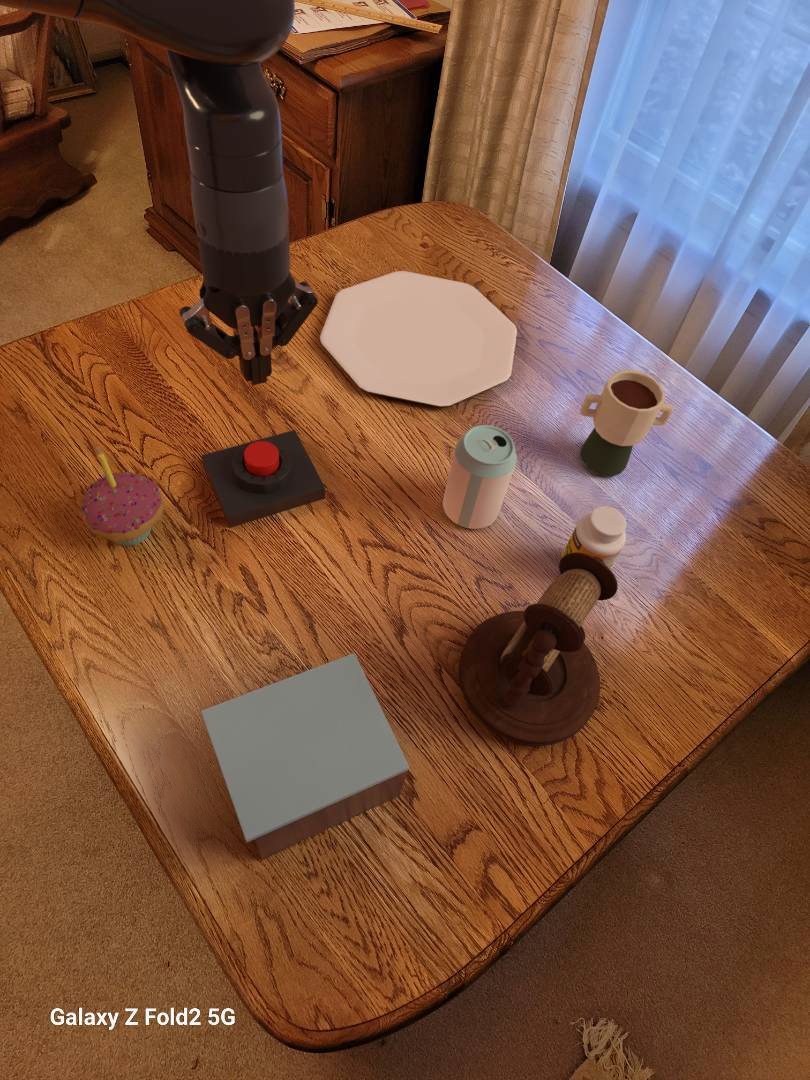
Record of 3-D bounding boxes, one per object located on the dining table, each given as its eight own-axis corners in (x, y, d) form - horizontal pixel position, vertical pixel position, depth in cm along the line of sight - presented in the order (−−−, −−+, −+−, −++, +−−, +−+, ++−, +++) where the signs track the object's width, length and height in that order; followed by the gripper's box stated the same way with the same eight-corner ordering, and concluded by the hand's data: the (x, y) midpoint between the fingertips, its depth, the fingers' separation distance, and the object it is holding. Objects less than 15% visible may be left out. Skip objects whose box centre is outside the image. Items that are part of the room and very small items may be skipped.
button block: (229, 528, 87) (226, 507, 83) (203, 467, 91) (199, 445, 88) (325, 498, 90) (325, 477, 87) (295, 441, 95) (294, 419, 92)
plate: (303, 385, 101) (303, 377, 100) (348, 267, 117) (349, 259, 116) (502, 426, 101) (504, 418, 99) (520, 302, 116) (522, 294, 115)
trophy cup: (638, 446, 101) (676, 374, 90) (644, 487, 97) (685, 416, 86) (559, 436, 100) (589, 363, 90) (562, 477, 96) (593, 405, 86)
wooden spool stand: (501, 598, 85) (545, 489, 68) (615, 671, 81) (692, 574, 65) (429, 694, 77) (460, 597, 61) (552, 780, 73) (620, 701, 57)
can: (453, 479, 94) (469, 412, 84) (505, 499, 93) (528, 433, 83) (433, 519, 90) (448, 453, 81) (487, 540, 89) (509, 476, 80)
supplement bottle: (548, 560, 89) (573, 508, 80) (585, 545, 90) (613, 492, 82) (575, 597, 86) (603, 548, 78) (612, 580, 88) (644, 530, 79)
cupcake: (77, 523, 85) (47, 453, 75) (144, 488, 89) (123, 417, 79) (117, 573, 82) (90, 507, 72) (184, 534, 85) (167, 466, 76)
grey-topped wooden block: (246, 842, 59) (245, 840, 59) (201, 714, 65) (200, 710, 64) (408, 770, 64) (409, 767, 64) (354, 656, 70) (354, 652, 69)
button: (251, 480, 86) (250, 470, 85) (240, 456, 88) (239, 446, 87) (284, 471, 88) (283, 461, 86) (272, 447, 90) (271, 437, 88)
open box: (261, 860, 66) (256, 839, 60) (220, 743, 72) (211, 712, 66) (399, 796, 71) (408, 770, 65) (350, 690, 77) (354, 656, 70)
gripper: (301, 184, 65) (304, 340, 79) (148, 209, 60) (180, 369, 75) (334, 233, 61) (331, 387, 75) (174, 263, 57) (203, 421, 71)
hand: (256, 378), depth 75 cm, fingers closed
